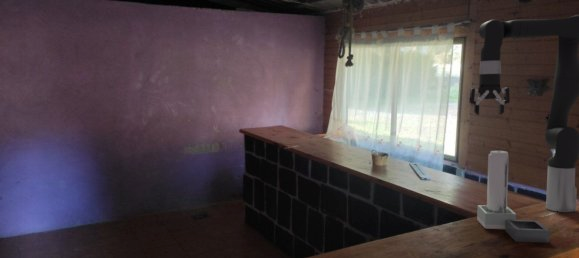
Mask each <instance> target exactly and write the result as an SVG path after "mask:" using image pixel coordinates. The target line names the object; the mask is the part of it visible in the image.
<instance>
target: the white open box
mask: <svg viewBox="0 0 579 258" xmlns="http://www.w3.org/2000/svg"><path fill="white" fill-rule="evenodd" d="M476 210H477V212H476V213H477V214H476V220H477V221H478V222H479V223H480V225H481V226H483V228H484V229H487V230H489V229H490V230H492V229H493V230H505V224H506V220H517V213H516V212H515V211H514V210H512V209H511V208H510V207H509V206H507V213H487V204H485V205H484V204H483V205H482V204H478V205H477V209H476Z"/></svg>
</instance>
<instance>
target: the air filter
mask: <svg viewBox="0 0 579 258" xmlns="http://www.w3.org/2000/svg"><path fill="white" fill-rule="evenodd" d="M509 156H510V155H509V153H508V151H506V150H505V151H504V150H491V151H490V153H488V155H487V157H488V159H487V184H486V185H487V188H486V189H487V190H486V205H487V213H507V207H508V189H509V188H508V187H509V186H508V185H509V161H510V160H509V159H510V158H509Z"/></svg>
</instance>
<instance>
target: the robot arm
mask: <svg viewBox="0 0 579 258" xmlns="http://www.w3.org/2000/svg"><path fill="white" fill-rule="evenodd" d="M478 34H479V37H481V39H484V41H483V43H484V44H483V46H482V47H481V49H480V64H479V75H478V77H479V78H478V80H479V81H478V88H474V87H473V88H472V87H471V88H470V90H469V91H470V92H469V99H468V100H469V101H468V102H469V104H470V105H471V104H472V105H473V106H474V110H473V113H474V114H475V115H477V116H479V115H480V103H481V102H482V101H483V100H496V101H497V102H498V103H499V104H498V115H503V114H504V113H505V105H507V104H510V98H511V97H510V87H501V80H502V79H501V76H502V75H501V74H502V66H501V65H502V64H501V53H502V52H501V48H502V45H503V40H504V39H515V40H516V39H533V38H542V37H555V36H557V57H556V65H555V72H554V77H553V78H554V79H553V86H552V96H551V97H552V98H551V103H550V111H549V116H548V120H547V124H546V128H545V132H544V140H545V142H546V143H545V144H547V145H548V146H549V147H550V148H554V149H555V152H554V155H553V156H552V157H549V158H548V160H547V175H546V176H547V178H546V179H547V180H546V196H545V198H546V199H545V200H546V201H545V208H546V209H547V210H549V211H552V212H557V211H558V212H559V213H572V212H576V211H577V210H576V209H577V192H578V191H577V187H576V186H575V184H576V183H575V182H576V164H577V162H578V161H579V131H578V129H577V128H575V127H573V126H568V120H569V114H570V112H571V110H572V109H573V106H574V105H575V103H576V101H577V100H578V98H579V14H575V15H572V16H569V17H563V18H562V17H560V18H547V19H512V20H508V21H501V20H499V19H490V20H488V21H485V22H483V23H482V24H481V25H480V26H479V29H478ZM477 92H478V94H479V96H478V97H477V98H476V100H475V96H476V94H477ZM500 93H502V94H503V95H504V96H503V98H504V99H503V98H502V96H500Z"/></svg>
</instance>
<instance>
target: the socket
mask: <svg viewBox="0 0 579 258" xmlns="http://www.w3.org/2000/svg"><path fill="white" fill-rule="evenodd" d="M504 230H505V233H506V234H508V235H509V236H510V238H511V239H512V240H514V242H516V243H544V244H549V243H550V234H551V232H550V231H551V230H550V229H548V227H546V226H545V225H544V224H542V222H540V221H538V220H533V219H531V220H529V219H528V220H527V219H526V220H524V219H516V220H506V224H505V229H504Z"/></svg>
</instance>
